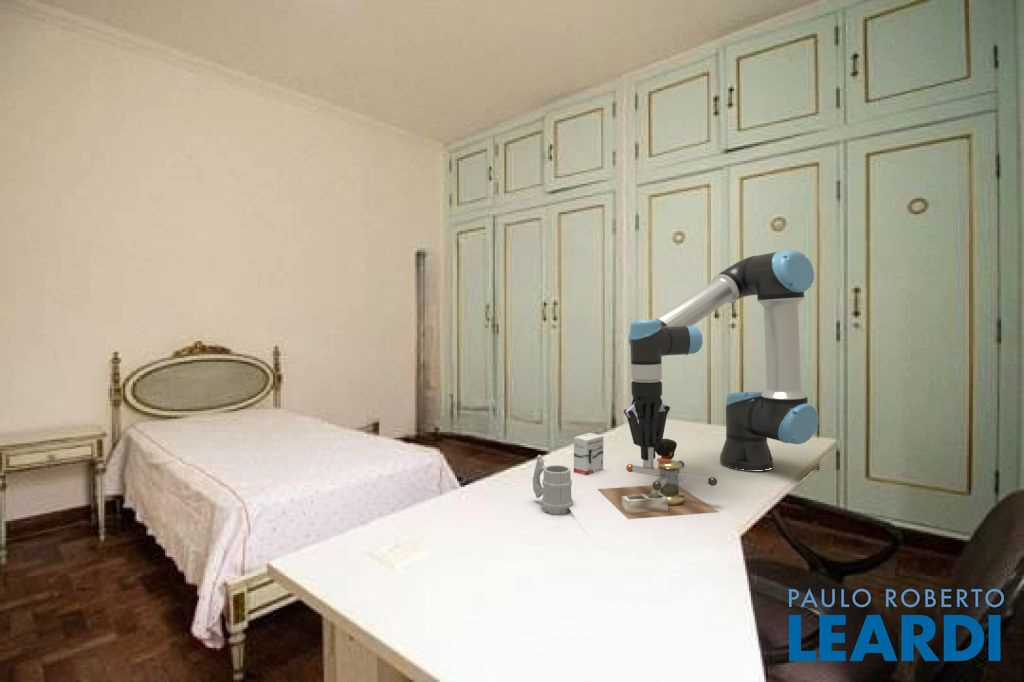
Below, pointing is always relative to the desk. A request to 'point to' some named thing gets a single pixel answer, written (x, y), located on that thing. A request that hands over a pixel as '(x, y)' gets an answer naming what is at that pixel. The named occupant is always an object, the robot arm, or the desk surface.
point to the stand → (652, 502)
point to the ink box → (588, 453)
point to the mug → (553, 487)
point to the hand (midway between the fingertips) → (648, 471)
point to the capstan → (670, 479)
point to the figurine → (666, 449)
